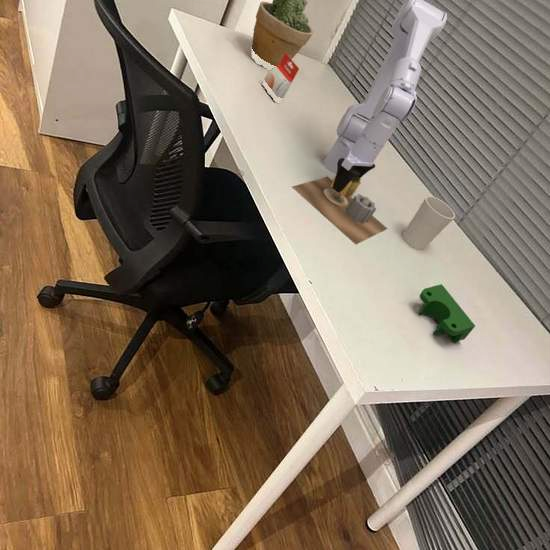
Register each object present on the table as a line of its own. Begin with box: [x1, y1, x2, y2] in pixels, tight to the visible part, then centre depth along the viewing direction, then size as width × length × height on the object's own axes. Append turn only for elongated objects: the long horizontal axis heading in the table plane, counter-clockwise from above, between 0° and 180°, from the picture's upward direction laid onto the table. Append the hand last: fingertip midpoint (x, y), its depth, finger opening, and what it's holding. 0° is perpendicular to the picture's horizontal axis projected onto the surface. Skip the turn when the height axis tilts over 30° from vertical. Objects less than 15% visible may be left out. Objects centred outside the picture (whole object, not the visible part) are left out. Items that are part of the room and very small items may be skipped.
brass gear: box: [331, 175, 362, 198], centre depth 128 cm, size 6×6×4 cm
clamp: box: [418, 283, 476, 343], centre depth 111 cm, size 12×6×9 cm, turn 23°
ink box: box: [263, 53, 300, 99], centre depth 159 cm, size 3×9×12 cm, turn 28°
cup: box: [401, 195, 456, 252], centre depth 130 cm, size 8×8×12 cm
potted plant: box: [251, 0, 314, 66], centre depth 173 cm, size 18×19×25 cm
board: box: [291, 176, 388, 245], centre depth 127 cm, size 16×20×6 cm
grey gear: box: [346, 193, 377, 224], centre depth 128 cm, size 6×6×4 cm
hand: (342, 187), depth 129 cm, fingers closed on brass gear, 6 cm apart
